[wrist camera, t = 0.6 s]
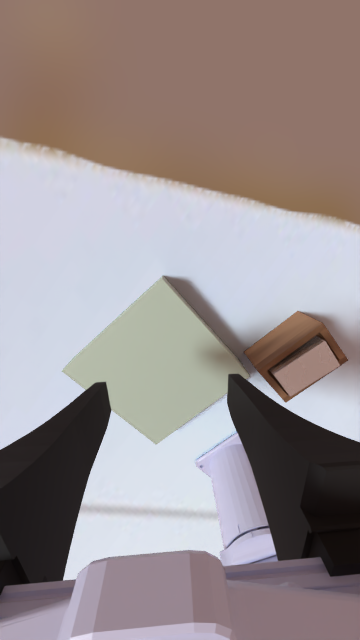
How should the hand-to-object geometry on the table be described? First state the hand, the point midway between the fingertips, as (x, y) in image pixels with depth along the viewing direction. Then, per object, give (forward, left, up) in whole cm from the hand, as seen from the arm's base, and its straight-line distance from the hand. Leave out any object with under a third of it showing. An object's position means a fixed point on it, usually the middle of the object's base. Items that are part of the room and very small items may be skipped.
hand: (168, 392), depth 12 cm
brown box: (-10, -8, -10) cm, 16 cm away
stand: (-2, +3, -10) cm, 11 cm away
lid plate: (-10, -8, -7) cm, 14 cm away
